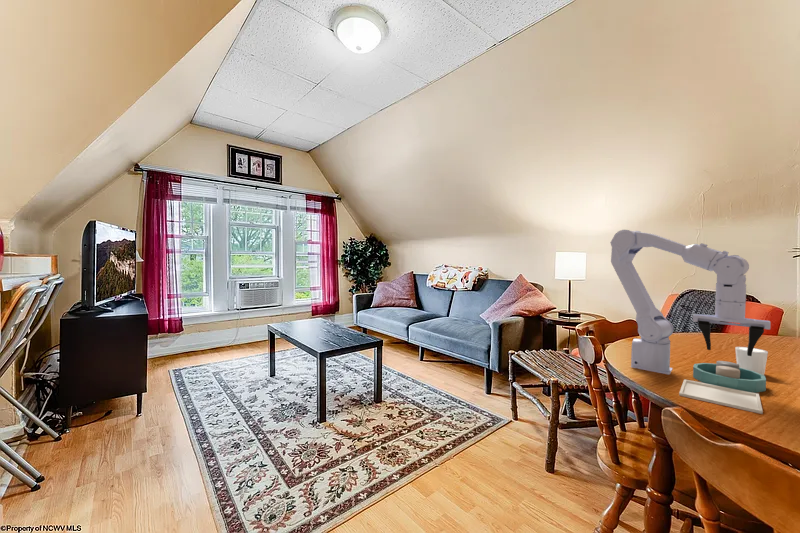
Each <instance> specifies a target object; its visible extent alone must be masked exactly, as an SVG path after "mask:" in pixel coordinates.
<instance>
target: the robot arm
mask: <svg viewBox="0 0 800 533" xmlns="http://www.w3.org/2000/svg"><path fill="white" fill-rule="evenodd" d="M610 246H611V255H610V257H611V258H610V262H611V265H612V267H613V269H614V271H615V273H616V275H617V277H618V279H619V282H620V283H621V285H622V286H623V288H624V291H625V293H626V295H627V296H628V298H629V301H630V303H631V305H632V306H633V308H634V310H635V312H636V316H635V321H636V323H637V333H638V334H639V336H640V338H633V340H632V342H631V358H630V360H631V361H630V364H631V365H630V368H633V369H639V370H643V371H644V370H645V371H648V372H654V373H658V374H664V375H671V372H672V371H673V367H670V366H671V365H670V364H671V339H670V338H669V337H671V336H672V335H673V332H674V325H673V324H672V323H671V321H669V320H668V319H667V318H666V317H665V316H664V313H663V312H661V311H660V310H659V309H658V308H657V307H656V305H655V303H654V302H653V300H652V298H651V296H650V294H649V292H648V290H647V289H646V287H645V285H644V283H643V280H642V279H641V277H640V276H639V273H638V272H637V269H636V268H635V266H634V264H633V260H634V258H635V257H636V255H637V254H638V253H639V252H640V251H641V250H642V249H643V248H655V249H657V250H661V251H665V252H668V253H672V254H675V255H677V256H681V258H682V260H683V262H684V263H686V264H690V265H691V266H694V267H697V268H700V269H703V270H706V271H708V272H714V273H715V274H716V283H715V299H714V300H715V301H714V302H715V305H714V314H702V313H701V314H700V313H699V314H698V313H693V315H692V322H693V323H694V322H695V323H697V326H698V328H699V330H700V332H701V333H702V336H703V338H704V340H705V344H706V350H708V351H711V348H712V344H711V341H712V340H711V327H712V326H711V324H718V325H728V326H734V327H735V326H736V327H737V326H738V327H746V328H748V344H747V347H748V349H747V355H748V356H752V351H753V348H755V346H756V344H757V342H758V341H759V339H760V338H761V337H762V336H763V334H764V332H765V330H769V331H770V330H771V325H772V324H771V323H772V322H771V321H770V320H764V319H763V320H762V319H755V318H748V317H746V307H747V306H746V302H747V299H746V298H747V283H746V281H747V275H746V274H747V273H748V271H749V269H750V264H749V262H748V261H747V260H746V259H745V258H744V257H742V256H740V255H736V254H733V255H729V251H726V250H723V251H722V250H721V251H720V250H717V249H714V248H712V247H708V244H705V243H699V244H698V243H694V244H690V245H685V244H683V243H679V242H677V241H674V240H671V239H670V238H666V237H663V236H660V235H657V234H655V233H648V232H642V231H640V230H630V229H621V230H618V231H617V232H616V233H615V234H614V235H613V237H612V239H611V241H610Z"/></svg>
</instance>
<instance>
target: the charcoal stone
mask: <svg viewBox="0 0 800 533" xmlns="http://www.w3.org/2000/svg"><path fill="white" fill-rule="evenodd" d="M715 364H716V366H727V367H732V368H736V369H739V364H737V362H731V361H725V360H716V363H715Z"/></svg>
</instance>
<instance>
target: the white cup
mask: <svg viewBox="0 0 800 533" xmlns="http://www.w3.org/2000/svg"><path fill="white" fill-rule="evenodd" d="M734 349H735V360H736V364H739V368H743V369H747V370H751V371H755V372H757V373H759V374H762V375H764V376H765V372H766V366H767V359H768V354H769V351H768V350H765V349H761V348H756V347H754V348H753V351H752V356H748V355H747V349H748V346H735V348H734Z"/></svg>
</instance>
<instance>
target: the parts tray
mask: <svg viewBox="0 0 800 533" xmlns="http://www.w3.org/2000/svg"><path fill="white" fill-rule="evenodd" d="M678 396H680V397H685V398H688V399H689V398H690V399H694V400H696V401H697V400H698V401H700V402H701V401H702V402H707V403H710V404H714V405H715V404H716V405H719V406H724V407H725V406H726V407H728V408H734V409H738V410H743V411H746V412H752V413H755V414H760V415H763V414H764V413H763V412H764V411H763V406H762V402H761V398H760V393H758V392H757V393H753V392H747V391H742V390H737V389H732V388H726V387H721V386H716V385H711V384H706V383H703V382H700V381H696V380H695V381H694V380H689V379H685V378H684V379H683V382H682V385H681V387H680V389H679V392H678Z"/></svg>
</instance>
